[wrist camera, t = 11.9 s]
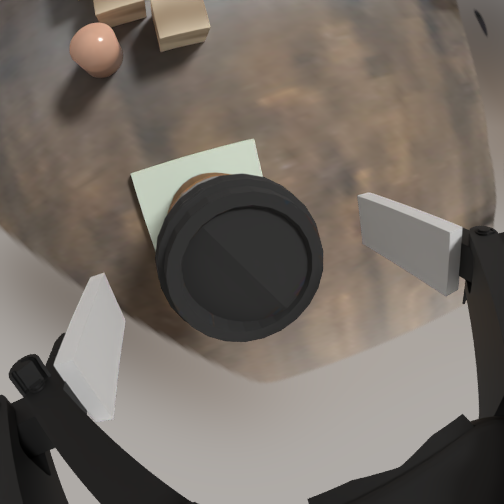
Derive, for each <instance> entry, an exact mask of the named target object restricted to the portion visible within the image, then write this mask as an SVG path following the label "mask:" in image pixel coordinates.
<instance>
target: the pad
mask: <svg viewBox="0 0 504 504" xmlns="http://www.w3.org/2000/svg"><path fill="white" fill-rule="evenodd" d="M214 172H217V173H226V174H242V173H243V174H249V175H255V176H261V177H263V176H262V171H261V167H260V163H259V158H258V154H257V150H256V146H255V141H254V139H249V140H245V141H241V142H237V143H233V144H229V145H225V146H221V147H217V148H213V149H210V150H206V151H202V152H199V153H195V154H192V155H188V156H185V157H181V158H178V159H175V160H171V161H168V162H165V163H162V164H158V165H155V166H152V167H149V168H146V169H143V170H140V171H137V172H134V173H131V177H132V180H133V184H134V187H135V190H136V193H137V197H138V200H139V203H140V206H141V209H142V212H143V216H144V219H145V222H146V225H147V228H148V231H149V234H150V237H151V240H152V243H153V245H154V248H155V251H156V245H157V237H158V234H159V232H160V229H161V227H162V224H163V222H164V219H165V217H166V216H167V213H168V210H169V207H170V204H171V202H172V200H173V197H174V195H175V193H176V192H177V190H178V189H179V188H180V187H181V185H182V184H183V183H184V182H186V181H187V180H188V179H190V178H191V177H194V176H196V175H198V174H203V173H214Z"/></svg>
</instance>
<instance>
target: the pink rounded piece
mask: <svg viewBox="0 0 504 504" xmlns="http://www.w3.org/2000/svg"><path fill="white" fill-rule="evenodd" d="M70 55H71V57H72V59H73V60H74V61H75V62H76V63H77V64H78V65H80V66H81V67H82V68H83V69H84V70H85V71H86V72H87V73H89V74H90V75H91V76H93V77H96V78H105V77H108V76H110V75H112V74H113V73H115V72H116V71H117V70H118V69H119V67H120V66H121V64H122V61H123V51H122V49H121V47H120V45H119V42H118V40H117V38H116V36H115V34H114V32H113V30H112V28H111V27H110V26H108V25H106V24H104V23H91V24H88V25H86V26H84V27H83V28H81V29H80V30H79V31H78V32H77V33H76V34H75V35H74V37H73V38H72V40H71V43H70Z"/></svg>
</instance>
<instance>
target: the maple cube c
mask: <svg viewBox="0 0 504 504" xmlns="http://www.w3.org/2000/svg"><path fill="white" fill-rule="evenodd" d="M151 12H152V19H153V23H154V27H155V31H156V36H157V40H158V44H159V48H160V52H163V51H167V50H171V49H175V48H179V47H183V46H187V45H191V44H196V43H200V42H205V40H206V37H207V35H208V32H209V30H210V23H209V20H208V16H207V12H206V9H205V5H204V1H203V0H151Z"/></svg>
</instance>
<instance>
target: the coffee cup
mask: <svg viewBox="0 0 504 504" xmlns="http://www.w3.org/2000/svg"><path fill="white" fill-rule="evenodd" d="M155 261H156V266H157V272H158V277H159V280H160V284H161V289H162V291H163V292H164V294H165V296H166V298H167V300H168V302H169V304H170V306H171V307H172V308H173V309H174V310H175V311H176V312H177V313H178V314H179V316H180V317H181V318H182V319H183V320H184V321H186V322H187V323H189V324H190V325H191V326H192V327H193V328H195V329H196V330H198V331H200V332H202V333H203V334H205V335H207V336H209V337H212V338H216V339H220V340H223V341H231V342H247V341H252V340H257V339H262V338H265V337H267V336H270V335H272V334H274V333H276V332H279V331H281V330H282V329H284V328H285V327H286V326H288V325H289V324H290V323H292V322H293V321H295V320H296V319H297V318H298V317H299V316H300V315H301V313H302V312H303V311H304V310H305V309H306V308H307V307H308V305H309V304H310V302H311V300H312V299H313V297H314V295H315V293H316V291H317V289H318V287H319V283H320V279H321V276H322V272H323V248H322V245H321V241H320V237H319V233H318V230H317V226H316V223H315V221H314V219H313V218H312V216H311V214H310V213H309V211H308V209H307V208H306V206H305V205H304V204H303V203H302V202H301V201H299V200H298V199H297V198H296V197H295V196H294V195H293V194H292V193H291V192H290V191H288V190H287V189H286V188H284V187H283V186H282V185H280V184H277V183H275V182H273V181H271V180H269V179H267V178H265V177H261V176H255V175H249V174H243V173H242V174H226V173H217V172H214V173H203V174H198V175H196V176H194V177H191V178H190V179H188V180H187V181H186V182H184V183H183V184H182V185H181V187H180V188H179V189H178V190H177V192H176V193H175V195H174V197H173V200H172V202H171V204H170V207H169V210H168V213H167V216H166V217H165V219H164V222H163V224H162V227H161V229H160V232H159V234H158V237H157V245H156V255H155Z"/></svg>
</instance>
